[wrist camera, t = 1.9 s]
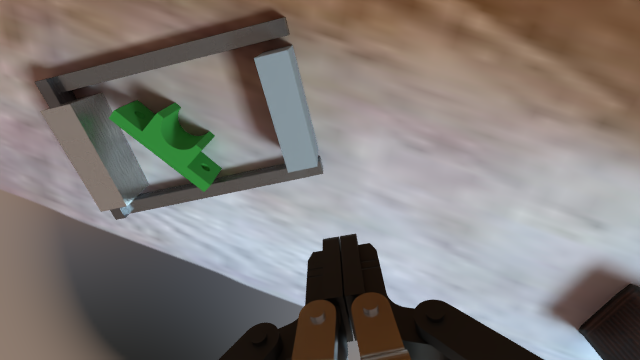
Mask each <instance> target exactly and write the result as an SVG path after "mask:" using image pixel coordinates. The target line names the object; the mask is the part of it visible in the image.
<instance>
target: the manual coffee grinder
mask: <svg viewBox="0 0 640 360" xmlns="http://www.w3.org/2000/svg"><path fill="white" fill-rule="evenodd" d="M579 333H581V334H582V335H583V336H584V337H585V338H586V340H587V341H588V342H589V343H590V344H591V346H592V347H593V348H594V349H595V351H596V352H597V353H598V354H599V356H600V357H601V358H602V359H603V360H640V287H638V286H635V285H633V284H630V285H629V286H627V287H626V288H625V289H623V290H622V291H621V292H619V293H618V294H617V295H616V296H615V297H614V298H612V299H611V300H610V301H609V302H608V303H607V304H606V305H604V306H603V307H602V308H601V309H600V310H599V311H598V312H596V313H595V314H594V315H593V316H592V317H591V318H590V319H589V320H587V321H586V322H585V323H584V324H583V325H582V326H581V327H580V329H579Z"/></svg>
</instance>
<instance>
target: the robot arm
mask: <svg viewBox="0 0 640 360" xmlns="http://www.w3.org/2000/svg"><path fill="white" fill-rule="evenodd" d="M340 242H341V243H340ZM307 270H308V271H307V286H306V303H305V306H304V307H303V308H302V310H301V312H300V314H299V318H298V319H297V320H295V321H294V322H293V323H291V324H288V325H286V326H284V327H282V328H279V329H277V327H276V326H275V325H273V324H271V323H260V324H257V325H255V326H253V327H252V328H250V329H249V330H248V331H247V332H246V333H245V334H244V335H243V336H242V337H241V338H240V339H239V340H238V341H237V342H236V343H235V344H234V345H233V346H232V347H231V348H230V349H229V350H228V351H227V352H226V353H225V354H224V355H223V356H222V357H221V358H220V359H219V360H348V357H347V356H348V348H347V342H350V341H353V334H354V338H355V340H357V342H358V347H359V352H360V357H361V360H544V359H542V358H540V357H538V356H537V355H535V354H533V353H532V352H530V351H528V350H526V349H525V348H523V347H521V346H520V345H518V344H516V343H514V342H513V341H511V340H509V339H508V338H506V337H504V336H502V335H501V334H499V333H497V332H496V331H494V330H492V329H490V328H489V327H487V326H485V325H484V324H482V323H480V322H478V321H477V320H475V319H473V318H472V317H470V316H468V315H466V314H465V313H463V312H461V311H460V310H458V309H456V308H454V307H453V306H451V305H449V304H448V303H446V302H443V301H440V300H426V301H423V302H422V303H420V304H419V305H418V306H417V307H416V308H415V309H413V308H406V307H402V306H399V305H397V304H395V303H393V302H392V301H391V300H390V299H389V298H388V296H387V293H386V290H385V285H384V281H383V277H382V272H381V268H380V264H379V259H378V255H377V251H376V249H375V248H374V247H373V246H372V245H371V244H370V243H368V244H361V245H358V241H357V236H356V234H351V235H345V236H340V238H339V237H333V238H327V239H323V251H318V252H313V253H312V255H311V257H310V258H309V260H308V269H307ZM352 329H353V332H352Z"/></svg>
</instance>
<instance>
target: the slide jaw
mask: <svg viewBox="0 0 640 360" xmlns="http://www.w3.org/2000/svg"><path fill="white" fill-rule="evenodd" d="M254 61H255V64H256V67H257V71H258V74H259V77H260V81H261V84H262V87H263V91H264V94H265V97H266V101H267V104H268V107H269V111H270V114H271V117H272V121H273V124H274V127H275V131H276V134H277V137H278V141H279V144H280V147H281V151H282V154H283V157H284V161H285V164H286V167H287V171H288V173H289V172H294V171H299V170H303V169H308V168H313V167H318V146H317V142H316V138H315V134H314V130H313V126H312V122H311V118H310V114H309V110H308V106H307V102H306V98H305V94H304V90H303V86H302V81H301V77H300V73H299V69H298V65H297V61H296V57H295V53H294V49H293V45H291V46H287V47H283V48H279V49H275V50H271V51H267V52H263V53H261V54H260V55H258V56H257V57H255V58H254Z"/></svg>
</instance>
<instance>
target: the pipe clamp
mask: <svg viewBox="0 0 640 360" xmlns="http://www.w3.org/2000/svg"><path fill="white" fill-rule="evenodd" d="M180 108H181V107H180V106H179V105H178V104H176V103H173V104H172V105H170V106H168V107H166V108H165V109H163V110H161V111H159V112H158V113H157V114H156V115H155V114H154V113H153V112H152V111H150V110H149V109H148V108H147V107H145V106H144V105H143V104H142V103H141V102H139V101H138V100H136V101H134V102H131V103H129V104H127V105H125V106H122V107H120V108H118V109H116V110H114V111H113V113H112V114H111V115H110V117H109V119H110V120H111V121H113V122H114V123H115V124H116V125H118V126H119V127H120V128H122V129H123V130H124V131H126V132H127V133H128V134H129V135H131V136H132V137H133V138H135V139H136V140H137V141H139V142H140V143H141V144H142V145H144V146H145V147H146V148H148V149H149V150H150V151H152V152H153V153H154V154H155V155H157V156H158V157H159V158H161V159H162V160H163V161H164V162H166V163H167V164H168V165H170V166H171V167H172V168H174V169H175V170H176V171H177V172H179V173H180V174H181V175H183V176H184V177H185V178H187V179H188V180H189V181H190V182H192V183H193V184H194V185H196V186H197V187H198V188H200V189H201V190H202V191H203V192H205V191H206V190H207V189H208V188H209V187H210V185H211V184H212V183H213V181H214V180H215V178H216V176H217V175H218V173H219V172H220V170H221V169H222V168H221V167H220V166H218V165H217V164H216V163H215V162H213V161H212V160H211V159H210V158H208V157H207V156H206V155H205V154H203V153H202V152H201V151H202V149H203V148H204V147H205V146H206V145H207V144H208V143H209V142H210V141H211V139H212V138H213V137H214V136H215V135H213V134H212V133H211V132H210V131H209V132H208V133H207V134H205V135H202V136H194V135H191V134H189V133H187V132H186V131H185V130H184V129H183V128H182V127H181V125H180V123H179V120H178V112H179V110H180Z"/></svg>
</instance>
